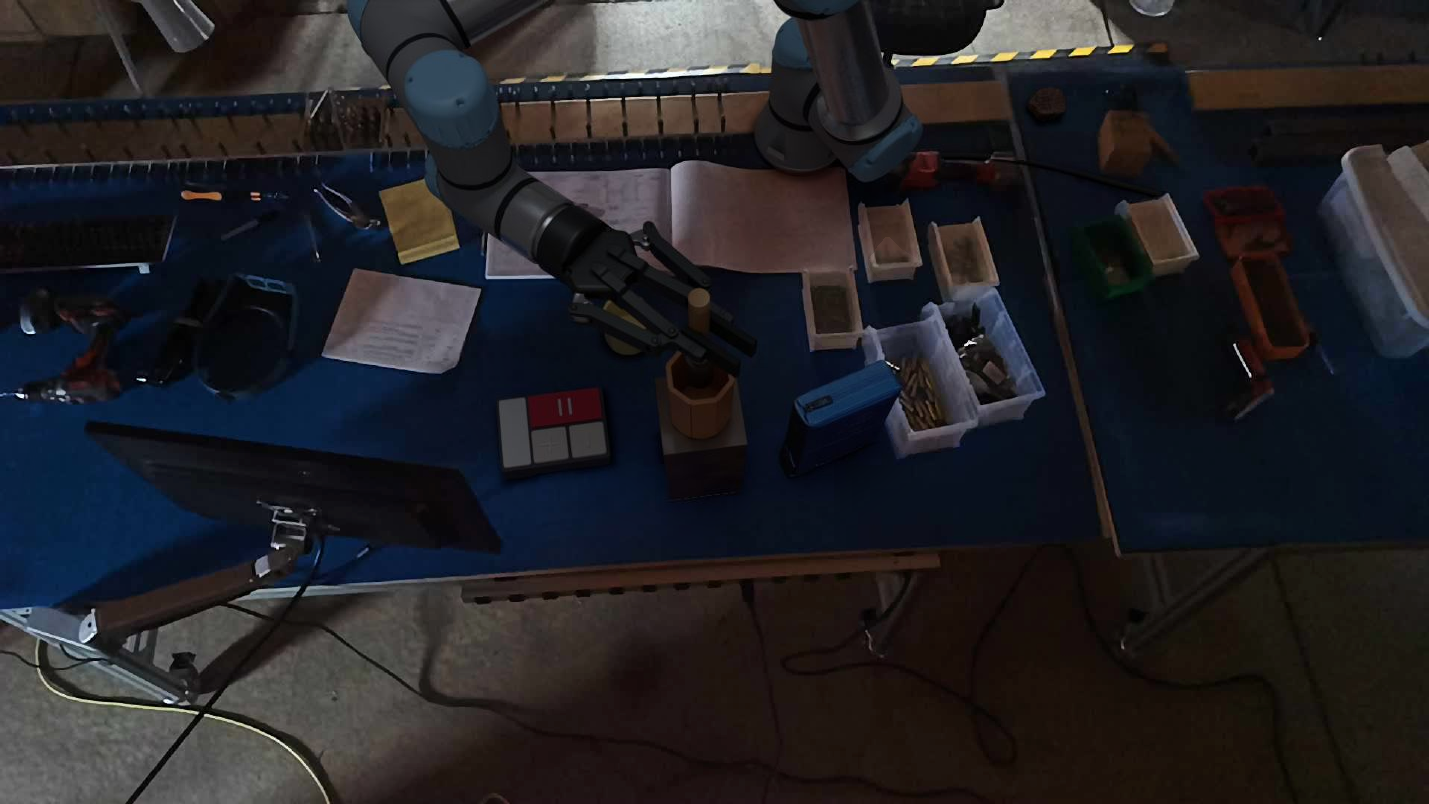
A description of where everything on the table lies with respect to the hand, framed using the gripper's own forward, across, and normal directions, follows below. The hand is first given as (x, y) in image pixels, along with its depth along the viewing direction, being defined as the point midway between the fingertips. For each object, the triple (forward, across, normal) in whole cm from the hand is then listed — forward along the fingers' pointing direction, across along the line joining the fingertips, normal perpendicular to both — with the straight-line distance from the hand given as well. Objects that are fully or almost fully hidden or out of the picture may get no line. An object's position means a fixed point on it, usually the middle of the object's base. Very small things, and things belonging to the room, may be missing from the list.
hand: (745, 359), depth 81 cm
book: (+7, -12, -41) cm, 43 cm away
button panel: (-25, +9, -41) cm, 49 cm away
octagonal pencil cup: (-6, 0, -21) cm, 22 cm away
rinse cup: (-27, -10, -41) cm, 50 cm away
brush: (-6, 0, -11) cm, 12 cm away
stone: (+4, -87, -41) cm, 96 cm away
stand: (-6, 0, -41) cm, 41 cm away
